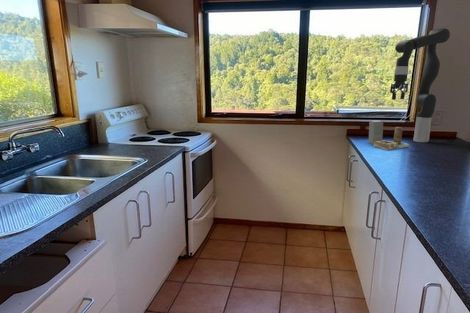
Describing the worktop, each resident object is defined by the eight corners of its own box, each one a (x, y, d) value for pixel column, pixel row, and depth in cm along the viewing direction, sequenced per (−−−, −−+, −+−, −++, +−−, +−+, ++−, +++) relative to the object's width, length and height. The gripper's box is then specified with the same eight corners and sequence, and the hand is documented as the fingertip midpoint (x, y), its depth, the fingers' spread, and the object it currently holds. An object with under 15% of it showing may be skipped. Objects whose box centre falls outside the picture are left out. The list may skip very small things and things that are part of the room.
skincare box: (382, 145, 217) (385, 121, 213) (371, 145, 217) (374, 121, 213) (377, 142, 225) (379, 119, 221) (366, 142, 225) (369, 119, 221)
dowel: (395, 144, 215) (398, 126, 212) (401, 146, 211) (404, 127, 208) (391, 145, 213) (393, 127, 210) (397, 146, 209) (399, 128, 206)
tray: (394, 144, 219) (394, 141, 218) (408, 147, 210) (408, 144, 210) (384, 146, 214) (385, 142, 214) (398, 149, 206) (398, 145, 205)
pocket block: (383, 146, 214) (384, 140, 213) (397, 149, 205) (398, 142, 204) (373, 147, 209) (374, 141, 208) (386, 150, 201) (387, 144, 200)
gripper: (402, 73, 214) (399, 98, 218) (388, 73, 208) (385, 99, 212) (413, 73, 208) (410, 99, 212) (399, 73, 201) (396, 100, 205)
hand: (397, 99), depth 212 cm, fingers open, 8 cm apart
